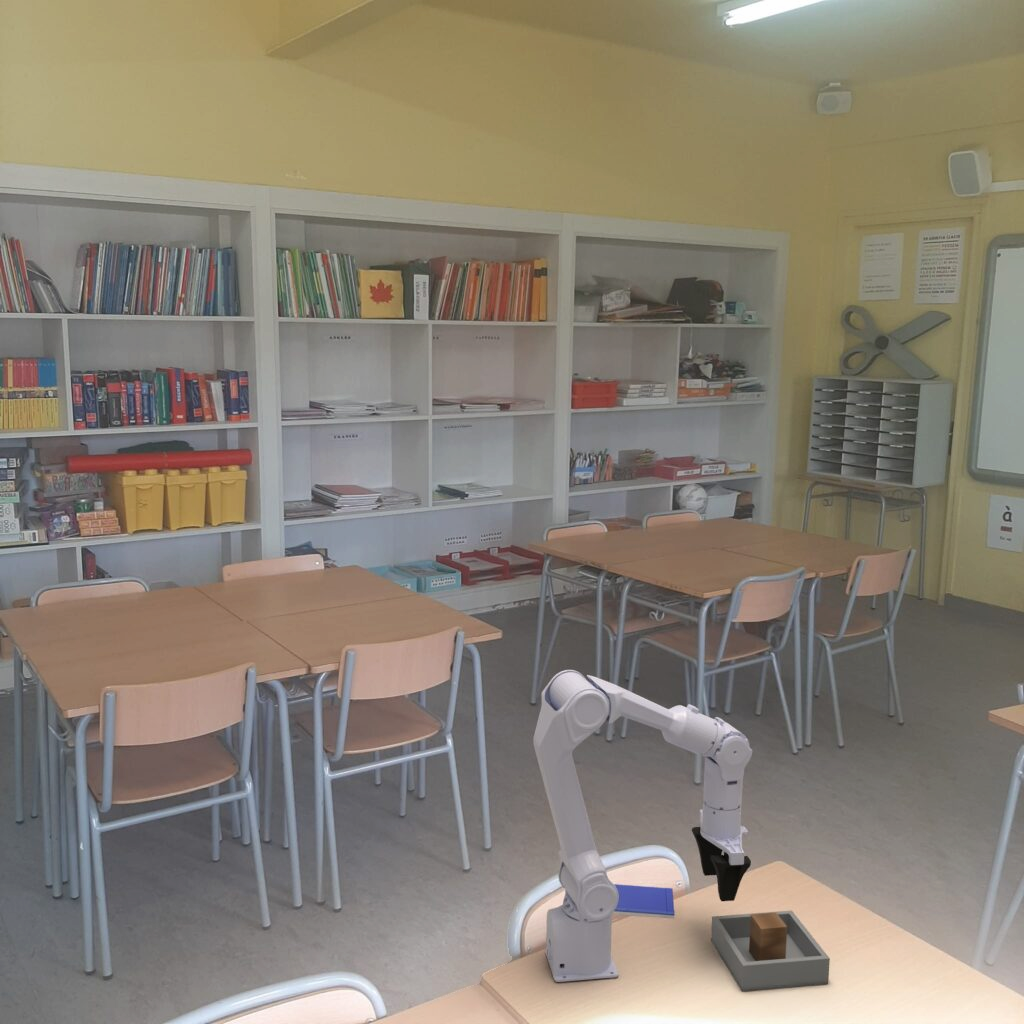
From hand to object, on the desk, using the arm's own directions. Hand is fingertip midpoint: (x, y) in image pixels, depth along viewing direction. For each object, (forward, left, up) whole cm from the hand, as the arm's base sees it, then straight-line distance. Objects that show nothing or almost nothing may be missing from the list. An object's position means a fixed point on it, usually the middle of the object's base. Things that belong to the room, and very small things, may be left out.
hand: (718, 886), depth 155 cm
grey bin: (+6, -6, -9) cm, 12 cm away
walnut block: (+6, -6, -9) cm, 12 cm away
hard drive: (-9, +13, -10) cm, 19 cm away
